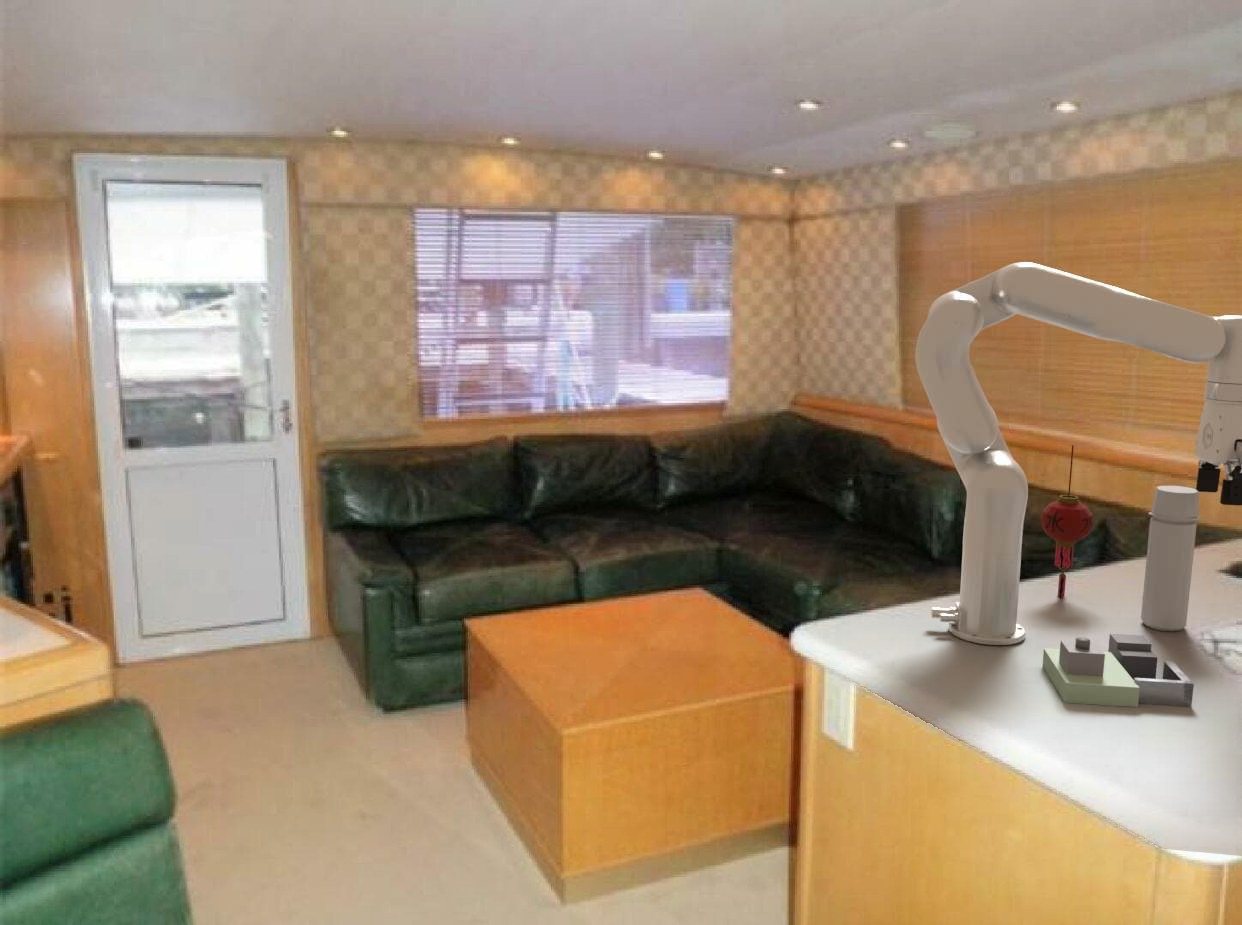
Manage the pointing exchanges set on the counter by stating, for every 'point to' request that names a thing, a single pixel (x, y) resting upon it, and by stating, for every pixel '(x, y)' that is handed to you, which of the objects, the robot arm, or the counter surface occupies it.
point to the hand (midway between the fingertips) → (1218, 497)
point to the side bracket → (1166, 688)
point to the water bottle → (1170, 557)
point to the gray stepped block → (1134, 655)
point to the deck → (1089, 675)
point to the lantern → (1066, 528)
